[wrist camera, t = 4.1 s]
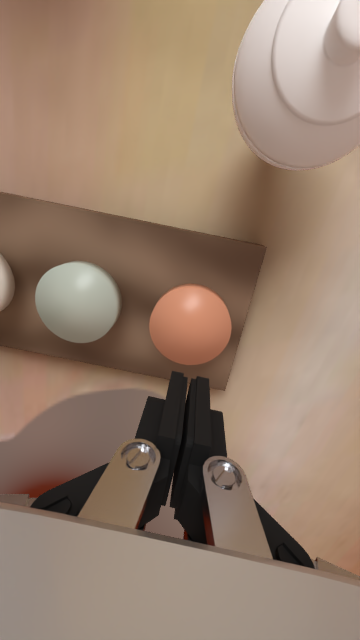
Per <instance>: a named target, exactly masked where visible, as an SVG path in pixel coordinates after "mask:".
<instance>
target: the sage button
mask: <svg viewBox="0 0 360 640" xmlns="http://www.w3.org/2000/svg"><path fill="white" fill-rule="evenodd" d="M35 303H36V308H37V311H38V314H39V316H40V318H41V320H42V321H43V323H44V324H45V325H46V326H47V328H48V329H49V330H50V331H52V332H53V333H54V334H55V335H57V336H58V337H60V338H62V339H64V340H67V341H70V342H75V343H88V342H92V341H95V340H98V339H99V338H101V337H103V336H104V335H105V334H106V333H107V332H108V331H109V330H110V329H111V327H112V326H113V325H114V324H115V322H116V321H117V319H118V318H119V315H120V312H121V307H122V298H121V293H120V290H119V288H118V285H117V283H116V282H115V280H114V279H113V278H112V276H111V275H110V274H109V273H108V272H107V271H105V270H104V269H103V268H101V267H100V266H98V265H96V264H93V263H90V262H86V261H72V262H68V263H65V264H62V265H59V266H56V267H54V268H52V269H50V270H49V271H47V272H46V273H45V274H44V275H43V276H42V278H41V279H40V281H39V283H38V285H37V288H36V293H35Z"/></svg>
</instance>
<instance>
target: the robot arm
mask: <svg viewBox="0 0 360 640" xmlns="http://www.w3.org/2000/svg"><path fill="white" fill-rule="evenodd" d="M187 381H188V377H184V373H181V372H176V371H172V373H171V377H170V382H169V387H168V391H167V396H166V400H164V399H159V398H155V397H150V396H148V399H147V402H146V405H145V408H144V411H143V414H142V417H141V420H140V424H139V427H138V430H137V433H136V436H135V439H131V440H128V441H126V442H124V443H123V444H121V446H120V447H119V448H118V449H117V451H116V453H115V454H114V456H113V458H112V459H111V461H110V462H109V463H107V464H105V465H103V466H100V467H98V468H96V469H94V470H92V471H90V472H88V473H85V474H83V475H81V476H79V477H77V478H75V479H72V480H70V481H68V482H66V483H64V484H62V485H59V486H57V487H55V488H53V489H51V490H49V491H47V492H46V493H43V494H42V495H40V496H39V497H38V498H29V494H1V495H0V640H360V576H357V575H355V574H353V573H351V572H349V571H347V570H344V569H342V568H340V567H338V566H336V565H333V564H331V563H329V562H327V561H325V560H323V559H320V558H318V557H317V558H316V560H313V559H310V557H309V555H308V554H307V552H306V551H305V550H304V549H303V548H302V547H301V545H300V544H299V543H298V542H297V541H296V540H295V539H294V538H292V537H291V536H290V535H289V534H288V533H287V532H286V531H285V530H284V529H283V528H282V527H281V526H280V525H279V524H278V523H277V522H276V521H275V520H274V519H273V518H272V517H271V516H270V515H269V514H268V513H267V512H266V511H265V510H264V509H263V508H262V507H261V506H260V505H259V504H258V503H257V502H256V501H255V500H254V499H253V496H252V493H251V490H250V487H249V484H248V481H247V478H246V475H245V473H244V471H243V469H242V468H241V467H240V466H239V465H238V464H237V463H236V462H234V461H233V460H231V459H229V458H227V452H226V442H225V431H224V421H223V413H222V412H220V411H216V410H211V409H210V388H209V378H204V377H200V376H197V377H196V379H193V378H191V382H190V386H189V390H188V394H187V399H186V391H187ZM185 401H186V403H185ZM173 473H174V476H173ZM172 477H173V483H172V492H171V500H170V507H172V508H175V514H174V519H176V520H178V521H179V522H180V524H181V525H182V527H183V528H184V529H185V530H184V536H183V539H179V538H174V537H169V536H165V535H160V534H155V533H151V532H146V531H145V527H146V523H148V522H149V521H151V520H152V519H154V518H155V517H156V516H158V515H159V511H160V507H161V505H164V506H165V505H166V501H167V497H168V493H169V489H170V485H171V481H172Z"/></svg>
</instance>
